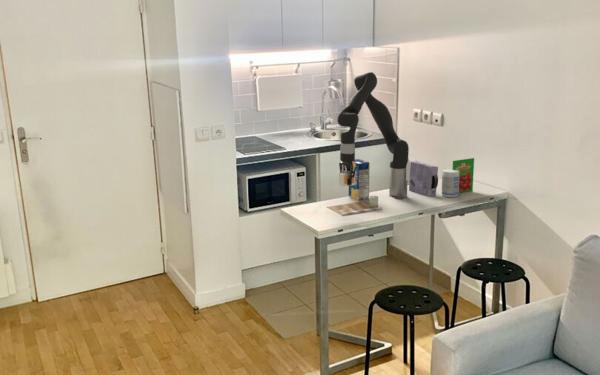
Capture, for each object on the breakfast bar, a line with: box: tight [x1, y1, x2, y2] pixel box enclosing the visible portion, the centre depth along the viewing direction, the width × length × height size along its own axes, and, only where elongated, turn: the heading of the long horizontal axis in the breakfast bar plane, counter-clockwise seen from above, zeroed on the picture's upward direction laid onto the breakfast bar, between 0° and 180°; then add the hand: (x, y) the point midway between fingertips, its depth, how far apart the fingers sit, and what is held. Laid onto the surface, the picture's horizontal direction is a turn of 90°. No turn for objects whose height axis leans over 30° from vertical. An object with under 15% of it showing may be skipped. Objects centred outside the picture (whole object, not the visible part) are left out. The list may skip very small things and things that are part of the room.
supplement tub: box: [441, 168, 460, 198], centre depth 368 cm, size 10×10×15 cm
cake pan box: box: [408, 160, 439, 198], centre depth 374 cm, size 19×5×18 cm, turn 34°
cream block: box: [338, 172, 355, 187], centre depth 336 cm, size 7×4×6 cm, turn 115°
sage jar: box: [369, 195, 379, 208], centre depth 345 cm, size 4×4×6 cm
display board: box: [326, 200, 383, 217], centre depth 346 cm, size 24×18×2 cm
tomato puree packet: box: [452, 157, 475, 195], centre depth 372 cm, size 15×1×20 cm, turn 116°
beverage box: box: [348, 158, 370, 202], centre depth 363 cm, size 7×11×22 cm, turn 26°
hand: (347, 183), depth 337 cm, fingers closed on cream block, 4 cm apart
